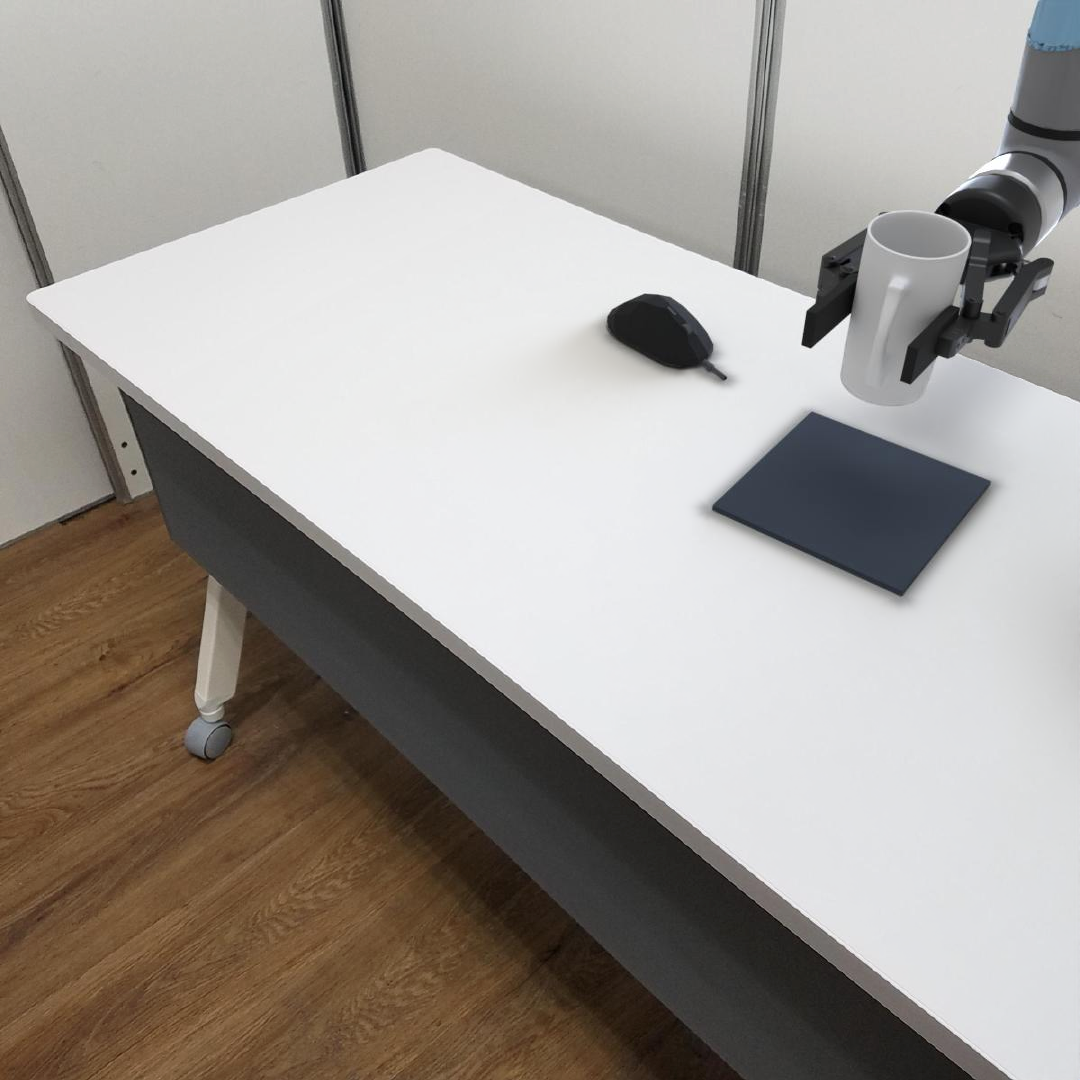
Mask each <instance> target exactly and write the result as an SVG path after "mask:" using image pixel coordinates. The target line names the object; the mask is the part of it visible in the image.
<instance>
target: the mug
mask: <svg viewBox="0 0 1080 1080" xmlns="http://www.w3.org/2000/svg"><path fill="white" fill-rule="evenodd" d="M887 212H888V213H885V214H882V215H879V214H878V215H879V216H878V215H877V216H876V217H874V218H873V219H872V220H870V221H869V223H868V225H867V227H868V228H867V227H866V228H867V235H866V239H865V243H864V247H863V252H862V257H861V262H860V268H859V273H858V279H857V284H856V290H855V295H854V300H853V306H852V311H851V314H850V315H849V316H850V318H849V322H848V327H847V332H846V338H845V343H844V350H843V356H842V360H841V361H842V362H841V368H840V374H839V377H840V382H841V385H842V387H844V389H845V390H846V391H847V392H848V393H849V394H850V395H852V396H853V397H855V398H856V399H858V400H860V401H864V402H865V403H868V404H871V405H875V406H881V407H902V406H907V405H910V404H913V403H915V402H917V401H919V400H920V399H921V398H922V397H923V396H924V395H925V393H926V391H927V388H928V385H929V382H930V379H931V376H932V373H933V370H934V367H935V364H936V361H937V358H936V359H935V360H934V361H933V362H932V363H931V364H930V365H929V366H928V367H927V368H926V369H925V370H924V371H923V372H922V373H921V374H920V375H919V376H918V377H917V379H916V380H915V381H914V382H913V383H912V384H911V385H910V384H907V383H904V382H901V381H900V378H901V373H902V369H903V365H904V360H905V356H906V351H907V347H908V345H909V344H910V343H911V342H912V341H913V340H914V339H915V338H916V337H917V336H918V335H919V334H920V333H921V332H922V331H923V330H924V329H925V328H926V327H927V326H928V325H929V324H930V323H931V322H932V321H933V320H935V319H936V318H937V317H938V316H939V315H940V314H941V313H942V312H943V311H944V310H945V309H946V308H947V307H948V306H949V305H953V306H954V302H955V299H956V296H957V293H958V289H959V286H960V284H959V283H960V280H961V277H962V273H963V270H964V267H965V263H966V260H967V256H968V253H969V248H970V245H971V236H970V234H969V233H968V231H967V230H966V229H965V228H964V227H963V226H962V225H960V224H959V223H957V222H955V221H954V220H952V219H949V218H947V217H944V216H942V215H938V214H935V213H934V212H930V211H925V210H915V209H908V210H907V209H906V210H905V209H903V210H893V211H887Z"/></svg>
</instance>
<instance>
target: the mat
mask: <svg viewBox="0 0 1080 1080" xmlns="http://www.w3.org/2000/svg"><path fill="white" fill-rule="evenodd" d="M991 483H992V481H991V480H990V479H987V478H985V477H982V476H979V475H977V474H974V473H971V472H969V471H967V470H964V469H962V468H959V467H956V466H953V465H951V464H949V463H947V462H944V461H941V460H938V459H936V458H934V457H931V456H928V455H925V454H924V453H921V452H917V451H915V450H913V449H910V448H907V447H906V446H902V445H899V444H897V443H894V442H893V441H889V440H887V439H884V438H883V437H882V438H881V437H880V436H876V435H873V434H871V433H869V432H866V431H864V430H860V429H859V428H856V427H853V426H851V425H849V424H846V423H843V422H840V421H839V420H835V419H833V418H830V417H829V416H825V415H823V414H820V413H817V412H815V411H810V412H809V413H808V414H807V415H806V416H805V417H804V418H803V419H802V420H801V421H800V422H798V424H796V425H795V427H793V428H792V429H791V430H790V431H789V432H788V433H787V434H786V435H785V436H784V437H783V438H782V439H780V440H779V441H778V443H777V444H775V445H774V446H773V447H772V448H771V449H770V450H769V451H768V452H767V453H766V454H765V455H764V456H763V457H762V458H760V460H759V461H757V462H756V463H755V464H754V465H753V466H752V467H751V468H750V469H749V470H748V471H747V472H746V473H745V474H744V475H742V476H741V478H739V480H737V482H735V483H734V484H733V485H732V486H731V487H730V488H729V489H728V490H727V491H726V492H724V494H723V495H722V496H721V497H720V498H718V499H717V500H716V501H715V502H714V503H713V504H712V505H711V511H714V512H716V513H718V514H720V515H722V516H725V517H726V518H729V519H731V520H733V521H736V522H738V523H739V524H742V525H743V526H746V527H748V528H751V529H752V530H753V529H754V530H755V531H756V532H759V533H761V534H764V535H765V536H768V537H770V538H772V539H774V540H777V541H779V542H782V544H783V543H784V544H786V545H788V546H790V547H792V548H795V549H797V550H799V551H801V552H803V553H805V554H807V555H810V556H812V557H814V558H817V559H819V560H820V561H823V562H825V563H828V564H830V565H831V566H834V567H836V568H838V569H841V570H842V571H844V572H847V573H848V574H849V573H850V574H851V575H854V576H855V577H858V578H860V579H863V580H865V581H866V582H869V583H870V584H873V585H876V586H878V587H880V588H882V589H885V590H886V591H888V592H891V593H893V594H895V595H897V596H900V597H902V596H903V595H904V594H905V593H906V591H907V590H908V589H909V588H910V586H911V585H912V584H913V583H914V581H915V580H916V579H917V578H918V577H919V575H921V573H922V571H923V570H924V569H925V568H926V567H927V565H928V564H929V563H930V562H931V560H932V559H933V558H934V557H935V555H936V554H937V552H938V551H939V550H940V549H941V548H942V547H943V545H944V544H945V543H946V541H947V540H948V538H949V537H950V536H951V535H953V532H955V530H956V529H957V527H958V526H959V525H960V524H961V523H962V522H963V520H964V518H965V517H966V516H967V515H968V514H969V513H970V511H971V510H972V509H973V507H974V506H975V505H976V504H977V502H978V501H979V500H980V498H981V497H982V496H983V495H984V494H985V492H986V491H987V490H988V488H989V487H990V486H991Z"/></svg>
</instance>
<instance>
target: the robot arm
mask: <svg viewBox="0 0 1080 1080" xmlns="http://www.w3.org/2000/svg"><path fill="white" fill-rule="evenodd" d="M1015 85H1016V86H1015V89H1014V93H1013V98H1012V102H1011V105H1010V108H1009V113H1008V114H1007V116H1006V121H1005V125H1004V129H1003V132H1002V136H1001V137H1002V138H1001V140H1000V144H999V148H998V151H997V154H996V155H995V156H994V157H993V158H992V159H991V160H990V161H989V162H987V163H986V164H985V165H983V166H982V167H981V168H980V169H978V170H977V171H976V172H975V173H974V174H972V175H971V176H969V178H968V179H967V180H965V181H964V182H963V183H962V184H961V185H960V186H959V187H957V189H955V190H954V191H953V192H952V193H950V194H949V195H948V196H947V197H946V198H944V200H943V201H941V203H940V204H939V205H938V206H937V207H936V208H935V210H934V211H933V213H935V214H938V215H942V216H944V217H947V218H949V219H952V220H954V221H955V222H957V223H959V224H960V225H962V226H963V227H964V228H965V229H966V230H967V231H968V233H969V234H970V236H971V245H970V248H969V253H968V256H967V260H966V263H965V267H964V270H963V273H962V277H961V280H960V283H959V286H961V289H960V295H959V298H960V300H959V306H956V305H954V304H953V305H949V306H948V307H947V308H946V309H945V310H944V311H943V312H942V313H941V314H940V315H939V316H938V317H937V318H936V319H935V320H933V321H932V322H931V323H930V324H929V325H928V326H927V327H926V328H925V329H924V330H923V331H922V332H921V333H920V334H919V335H918V336H917V337H916V338H915V339H914V340H913V341H912V342H911V343H910V344H909V345H908V347H907V351H906V356H905V360H904V365H903V369H902V373H901V378H900V381H901V382H904V383H907V384H910V385H911V384H912V383H913V382H914V381H915V380H916V379H917V377H918V376H919V375H920V374H921V373H922V372H923V371H924V370H925V369H926V368H927V367H928V366H929V365H930V364H931V363H932V362H933V361H934V360H935V359H936V360H937V358H938V357H941V358H944V359H947V360H949V359H952V358H954V357H955V356H956V355H957V354H958V353H959V352H960V351H961V350H962V349H963V348H964V347H965V346H966V345H967V344H971V343H972V342H973V341H974V340H979V341H980V340H982V341H983V345H985V346H986V347H988V348H991V349H998V348H1001V347H1002V346H1003V344H1004V343H1005V341H1006V340H1007V338H1008V337H1009V335H1010V333H1011V332H1012V330H1013V329H1014V327H1015V325H1016V324H1017V322H1018V321H1019V320H1020V318H1021V316H1022V315H1023V313H1024V312H1025V310H1026V309H1027V307H1028V305H1029V304H1030V303H1031V302H1032V301H1034V300H1036V299H1038V298H1040V297H1042V296H1044V295H1045V294H1046V291H1047V288H1048V285H1049V282H1050V277H1051V275H1052V272H1053V269H1054V266H1055V261H1054V260H1053V259H1051V258H1049V257H1039V258H1036V259H1034V260H1032V261H1031V260H1029V259H1026V258H1027V257H1028V256H1029V255H1030V253H1031V252H1032V251H1033V250H1034V249H1035V248H1036V247H1038V245H1039V244H1040V243H1041V242H1042V241H1043V240H1044V239H1045V238H1046V237H1047V236H1048V235H1049V234H1050V232H1051V231H1053V230H1054V229H1055V228H1056V227H1057V225H1058V224H1059V223H1060V222H1061V221H1062V220H1063V219H1064V218H1065V217H1066V216H1067V215H1068V214H1069V213H1070V212H1072V211H1073V210H1075V209H1076V208H1077V207H1079V206H1080V0H1037V3H1036V6H1035V9H1034V12H1033V16H1032V19H1031V22H1030V25H1029V27H1028V29H1027V34H1026V38H1025V44H1024V49H1023V54H1022V59H1021V63H1020V67H1019V71H1018V77H1017V81H1016V84H1015ZM888 212H889V211H882V212H879V214H878V215H877V216H879V215H882V214H885V213H888ZM867 228H868V226H867V227H866V228H864V229H863V230H861V231H859V232H858V233H856V234H854V235H853V236H852V237H850V238H848V239H847V240H845V241H844V242H842V243H840V244H839V245H837V246H836V247H833V248H832V249H831V250H829V251H828V252H826V253H824V254H823V255H821V261H820V266H819V273H818V280H817V286H816V287H817V291H816V296H815V303H813V305H811V306H810V307H809V308H808V309H807V310H806V311H805V318H804V325H803V330H802V337H801V344H800V345H801V346H802V347H804V348H808V349H810V350H811V349H812V348H814V347H815V346H816V345H817V344H818V343H819V342H820V341H822V339H824V338H825V337H826V336H827V335H828V334H829V333H831V331H833V330H834V329H835V328H836V327H837V326H838V325H840V324H841V323H842V322H843V321H844V320H846V318H848V317H849V316H851V311H852V306H853V300H854V295H855V290H856V284H857V279H858V273H859V268H860V262H861V257H862V252H863V247H864V243H865V239H866V235H867ZM1012 277H1013V278H1012ZM1009 278H1012V281H1011V282H1010V284H1009V285H1008V287H1007V288H1006V290H1005V291H1004V293H1003V294H1002V296H1001V297H1000V298H999V300H998V301H997V303H996V304H995V305H994V307H993V308H992V310H991V312H983V311H982V308H983V304H984V301H985V299H983V297H984V291H985V290H984V289H985V284H986V283H990V282H991V283H992V282H994V281H998V280H1003V279H1009Z"/></svg>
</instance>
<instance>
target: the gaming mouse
mask: <svg viewBox="0 0 1080 1080" xmlns="http://www.w3.org/2000/svg"><path fill="white" fill-rule="evenodd" d="M606 324H607V326H608V329H609V330H610V331H611V333H613V334H614V336H615V337H616V338H617V339H619V340H621V341H622V342H624V343H625V344H627V345H629V346H631V347H633V348H635V349H637V350H638V351H640V352H642V353H644V354H645V355H647V356H648V357H651V358H652V359H654V360H656V361H657V362H660V363H662V364H663V365H666V366H671V367H676V368H684V367H690V366H697V365H699V364H700V365H701V366H702V367H704V368H705V369H706V370H707V371H709V372H713V373H715V374H716V375H717V376H718V377H719V378H721V379H722V380H724V381H725V380H727V379H728V375H726V374H724V373H723V372H722V371H720V370H719V369H718V368H716V366H715V365H714V364H713V363H711V361H709V360H708V359H709V358H710V356H711V355H712V353H714V342H713V341H712V339H711V336H710V335H709V333H708V332H707V330H706V329H705V328H704V326H703V325H702V324H701V323H700V321H699V320H698V319H697V318H696V317H695V316H694V315H693V313H692V312H691V311H689V310H688V309H687V307H685V306H684V305H683V304H682V303H680V302H679V301H678V300H676V299H674V298H673V297H671V296H669V295H663V294H657V293H643V294H640V295H638V296H635V297H634V298H630V299H629V300H626V301H624V302H622V303H620V304H619V305H617V306H615V307H614V308H612V309H611V310H610V312H609V313H608V314H607V316H606Z"/></svg>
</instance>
